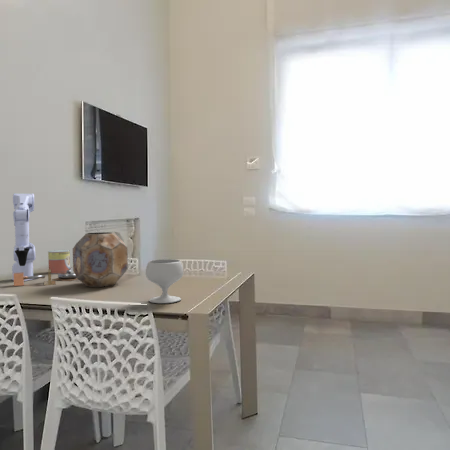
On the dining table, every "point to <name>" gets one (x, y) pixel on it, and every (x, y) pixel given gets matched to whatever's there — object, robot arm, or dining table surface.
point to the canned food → (59, 261)
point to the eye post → (49, 279)
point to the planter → (100, 259)
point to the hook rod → (24, 278)
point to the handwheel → (67, 274)
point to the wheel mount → (65, 279)
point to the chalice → (164, 277)
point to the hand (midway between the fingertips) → (22, 264)
